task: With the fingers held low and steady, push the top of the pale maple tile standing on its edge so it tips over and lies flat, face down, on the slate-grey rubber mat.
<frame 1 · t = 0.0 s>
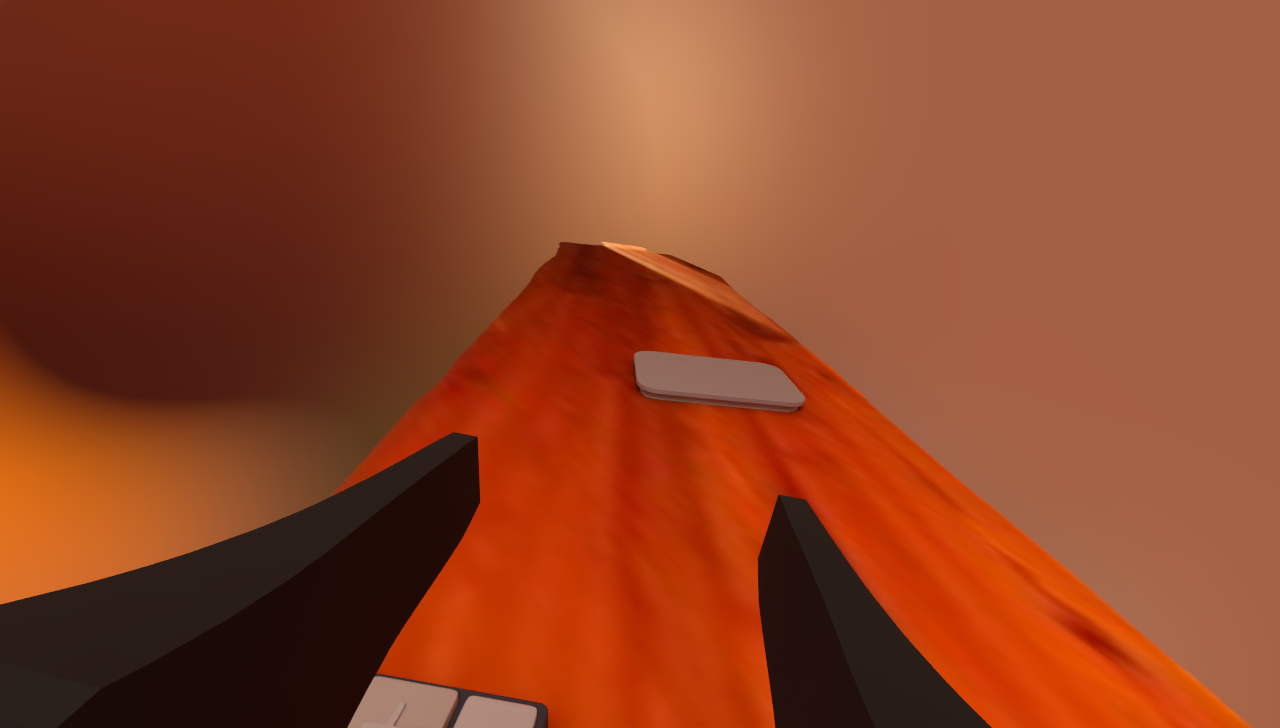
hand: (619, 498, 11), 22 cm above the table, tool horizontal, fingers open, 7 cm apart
tablet: (712, 388, 76), on the table
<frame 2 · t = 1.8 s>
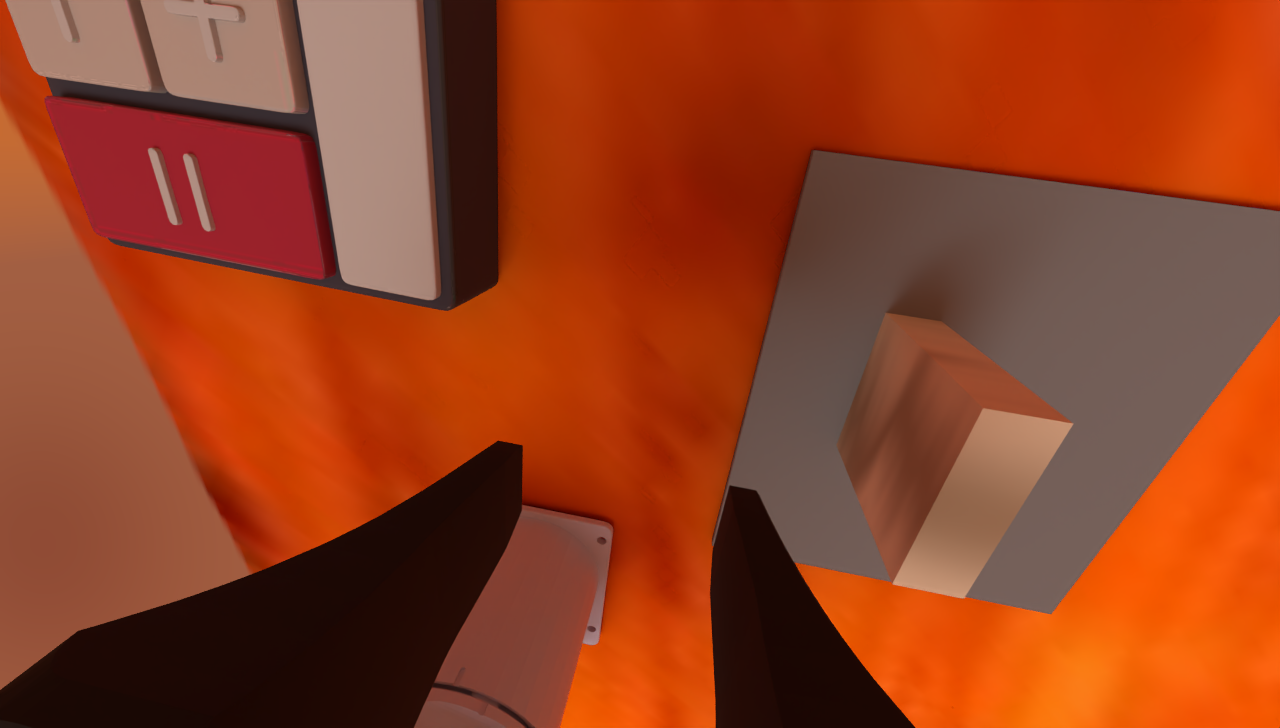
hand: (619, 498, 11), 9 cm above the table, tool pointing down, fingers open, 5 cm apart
maple tile: (885, 388, 18), resting on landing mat
calculator: (319, 119, 18), on the table
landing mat: (948, 417, 19), on the table
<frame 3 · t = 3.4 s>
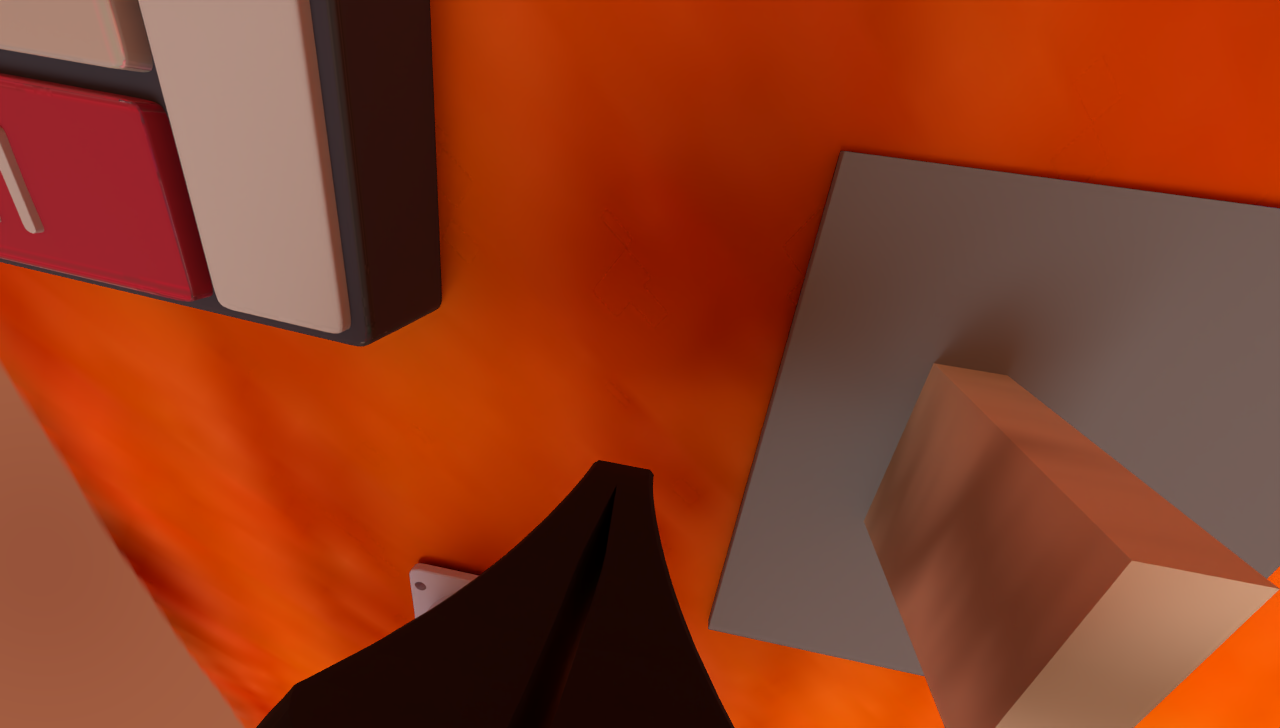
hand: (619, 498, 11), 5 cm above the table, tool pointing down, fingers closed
maple tile: (928, 455, 14), resting on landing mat
calculator: (206, 88, 14), on the table
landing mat: (1007, 490, 15), on the table
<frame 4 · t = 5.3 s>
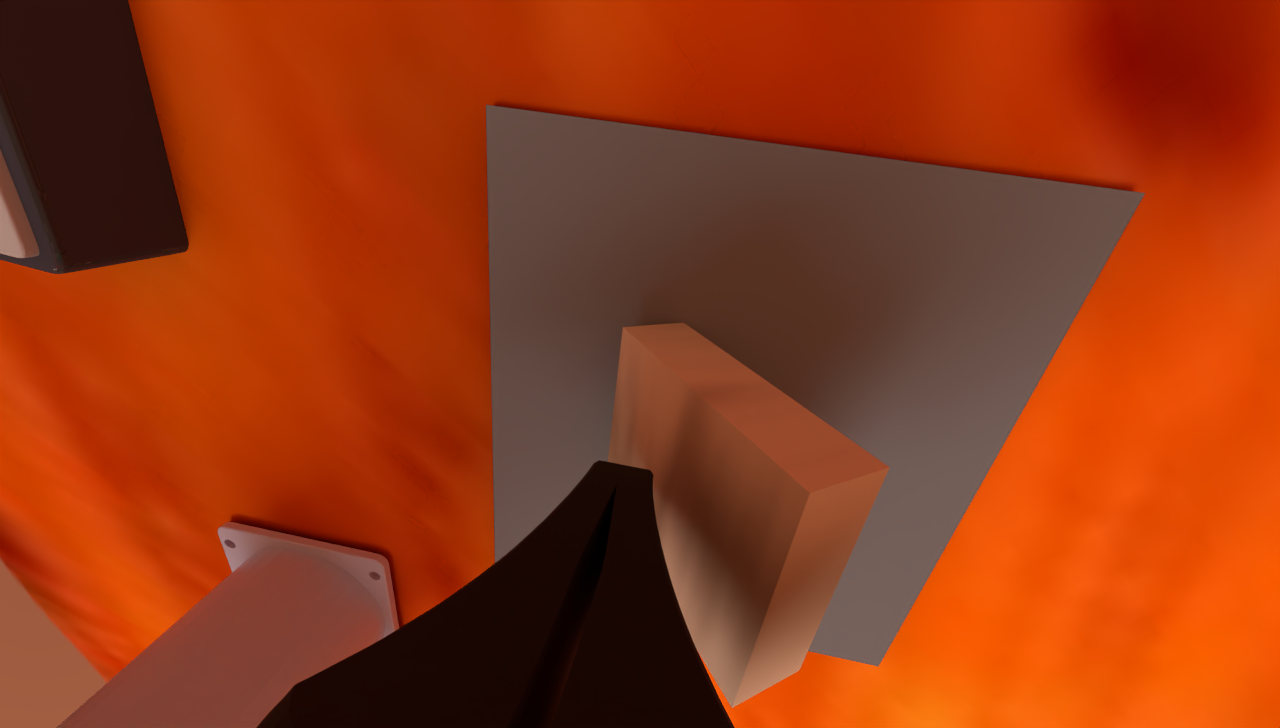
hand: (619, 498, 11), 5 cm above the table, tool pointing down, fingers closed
maple tile: (641, 413, 15), point 1 cm above the table, tilted 36°, touching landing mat
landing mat: (723, 438, 16), on the table
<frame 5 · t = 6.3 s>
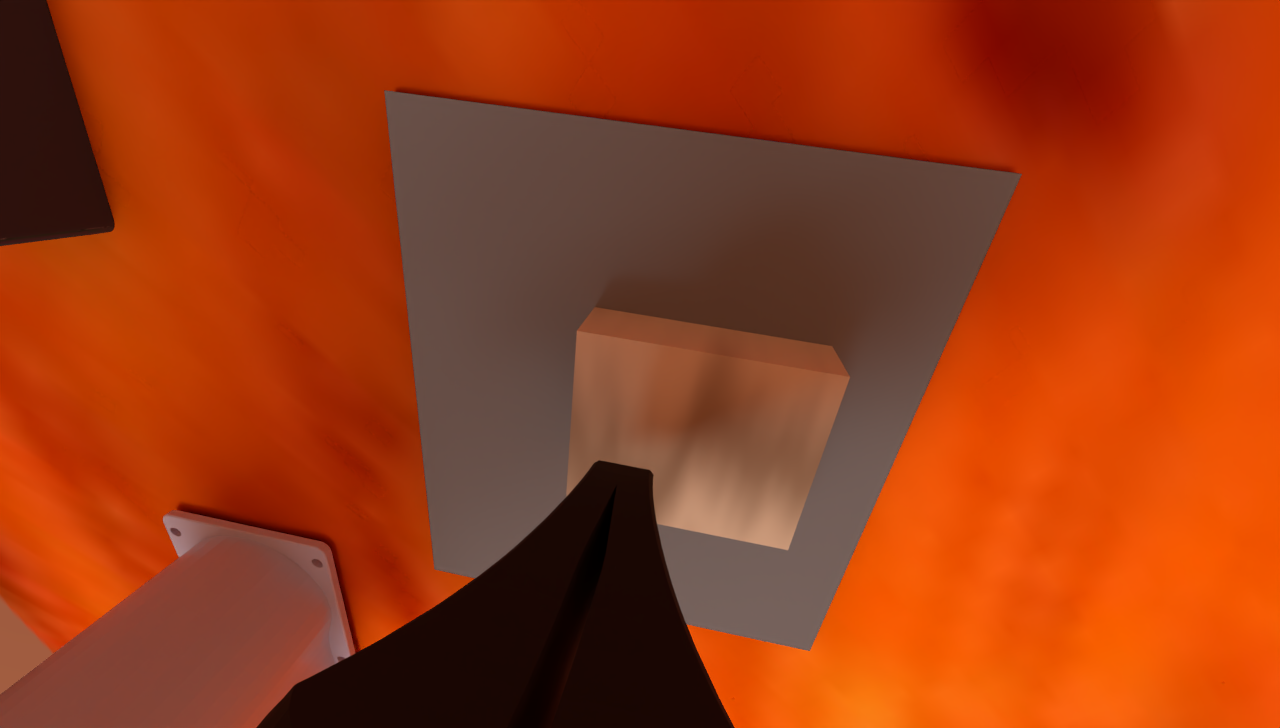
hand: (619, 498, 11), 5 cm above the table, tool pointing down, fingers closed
maple tile: (579, 409, 14), point 1 cm above the table, tilted 90°, touching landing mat
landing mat: (643, 423, 16), on the table
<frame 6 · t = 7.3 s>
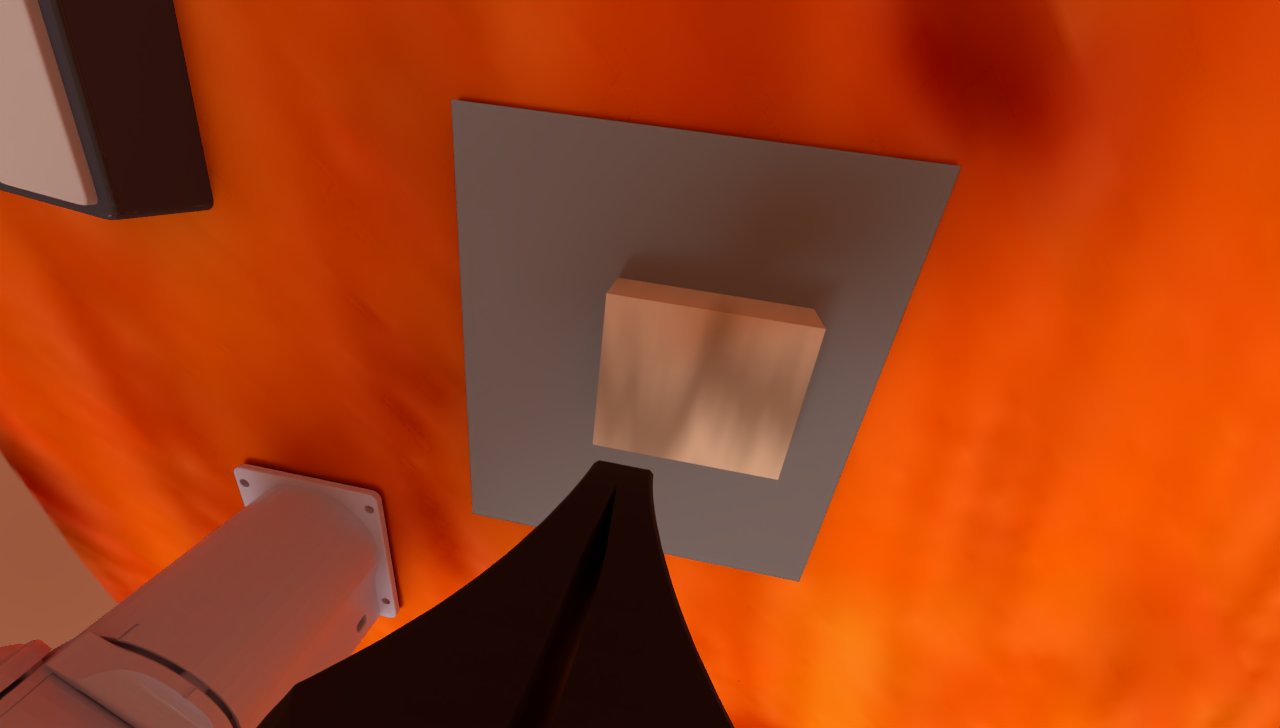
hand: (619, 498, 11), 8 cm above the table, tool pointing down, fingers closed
maple tile: (605, 363, 17), point 1 cm above the table, tilted 90°, touching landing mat
calculator: (11, 12, 17), on the table
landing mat: (657, 378, 19), on the table
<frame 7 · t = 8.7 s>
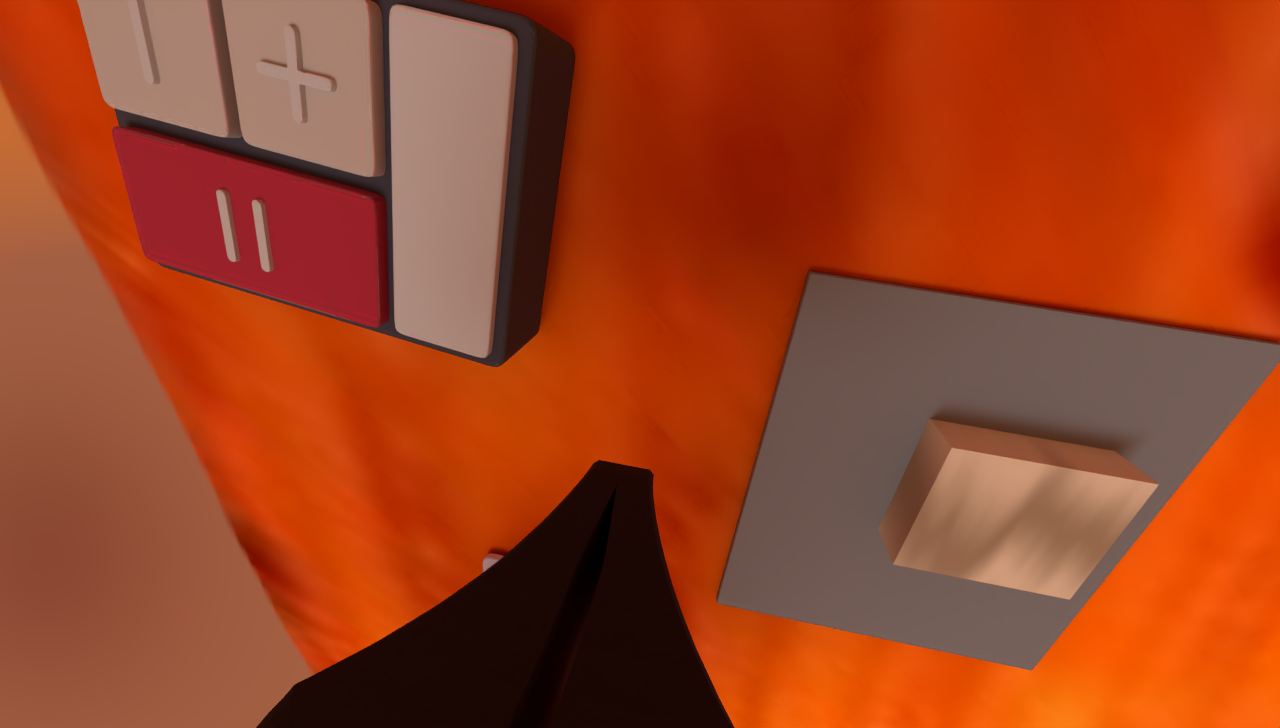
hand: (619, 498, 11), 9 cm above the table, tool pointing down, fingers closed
maple tile: (910, 493, 19), point 1 cm above the table, tilted 90°, touching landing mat
calculator: (378, 162, 19), on the table
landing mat: (935, 497, 21), on the table
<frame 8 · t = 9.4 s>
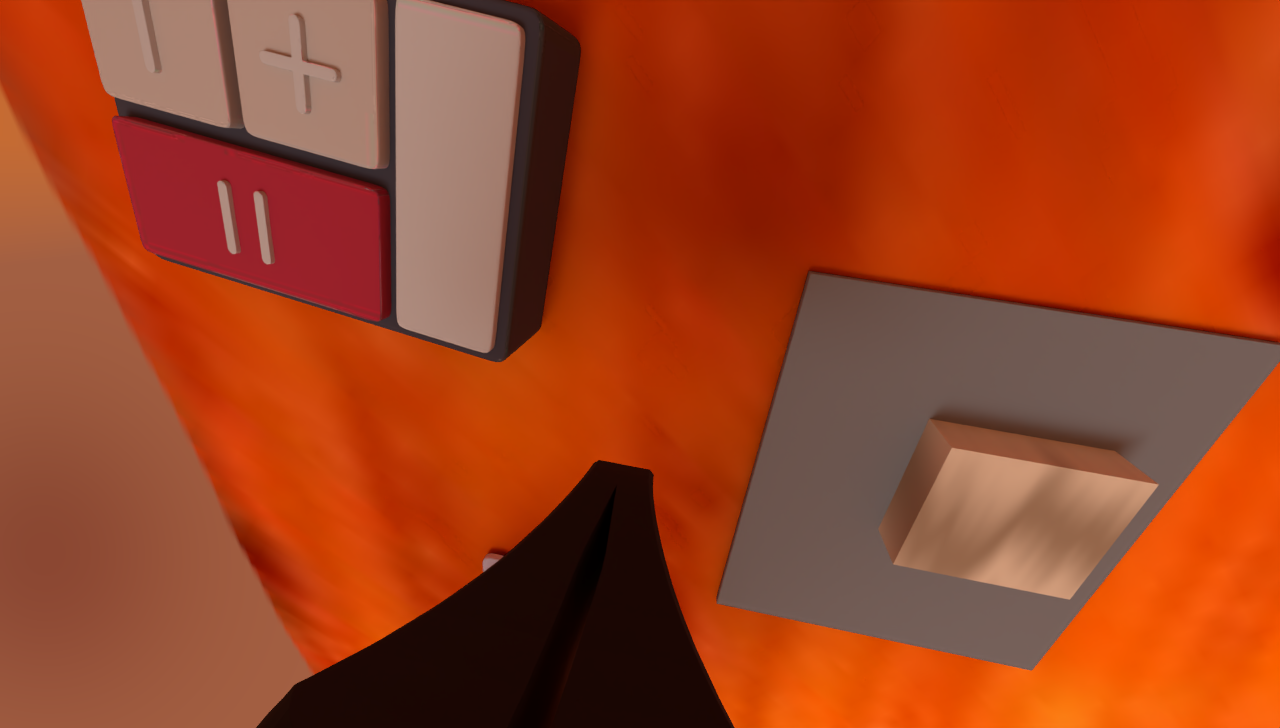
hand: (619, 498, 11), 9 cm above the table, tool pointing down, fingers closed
maple tile: (910, 493, 19), point 1 cm above the table, tilted 90°, touching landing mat
calculator: (380, 156, 19), on the table
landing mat: (935, 497, 21), on the table
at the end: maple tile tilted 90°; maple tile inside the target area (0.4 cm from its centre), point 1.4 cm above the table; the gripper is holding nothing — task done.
